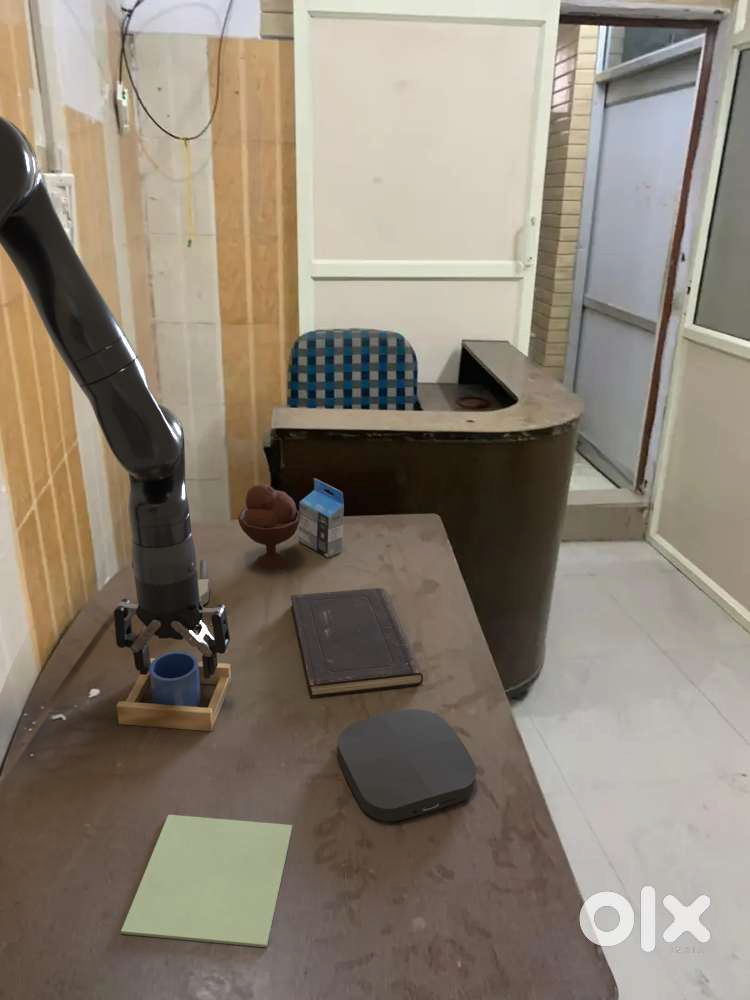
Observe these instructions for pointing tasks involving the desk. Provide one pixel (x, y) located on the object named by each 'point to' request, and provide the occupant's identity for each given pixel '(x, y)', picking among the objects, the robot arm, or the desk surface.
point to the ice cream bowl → (269, 522)
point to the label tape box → (322, 520)
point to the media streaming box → (405, 764)
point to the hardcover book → (352, 643)
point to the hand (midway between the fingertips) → (177, 672)
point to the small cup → (175, 679)
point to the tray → (173, 714)
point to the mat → (211, 881)
